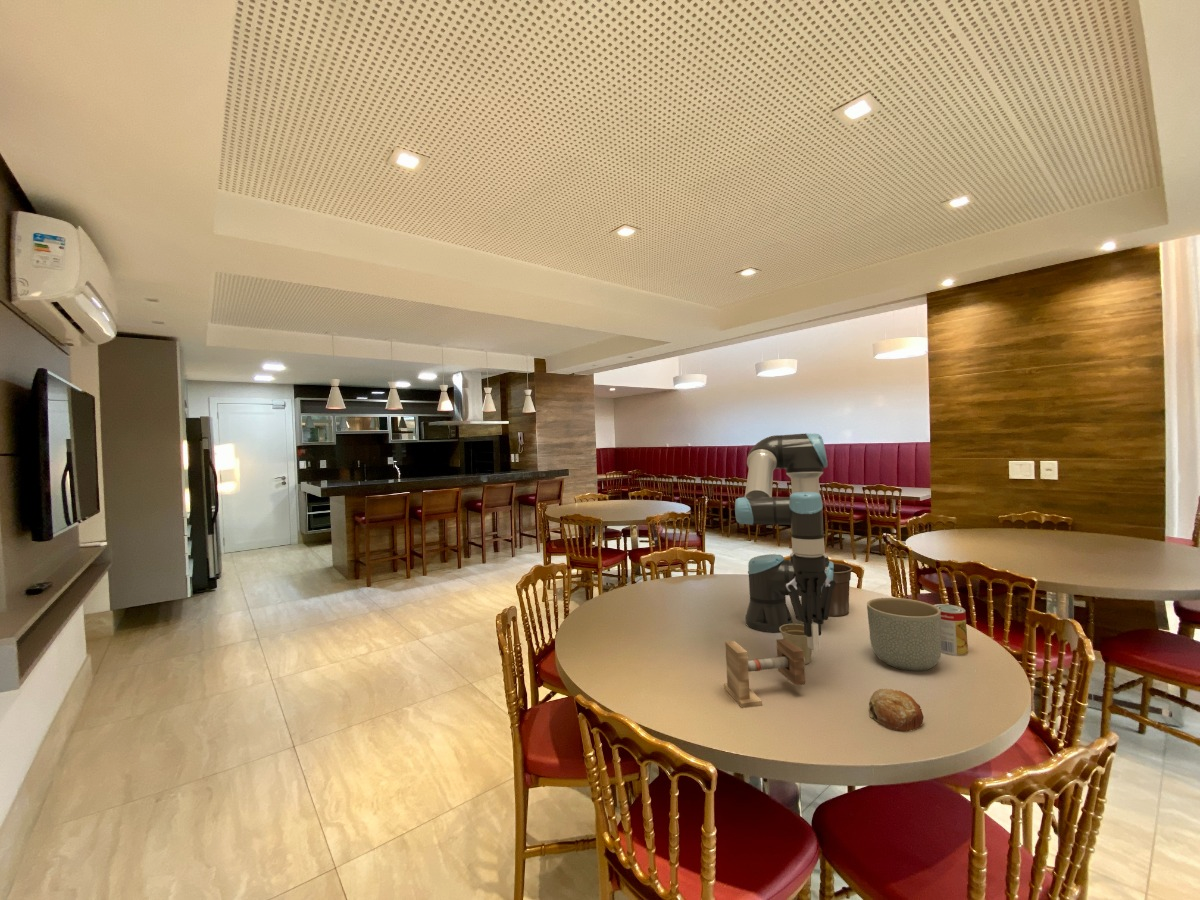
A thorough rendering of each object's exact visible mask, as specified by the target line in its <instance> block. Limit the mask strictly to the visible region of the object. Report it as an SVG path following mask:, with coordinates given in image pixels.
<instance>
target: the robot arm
mask: <svg viewBox="0 0 1200 900" xmlns="http://www.w3.org/2000/svg"><path fill="white" fill-rule="evenodd" d="M827 458H828V457H827V452H826V447H825V443H824V439H823V437H822V436H821V434H819V433H807V432H806V433H797V434H796V433H793V434H784V435H783V434H780V435H779V434H778V435H777V434H776V435H770V436H768V437H764V438H763V439H761V440H760V441H758V442H757V443H756V444H755V445H754V446H752V448H751V449H750V451H749V452H748V454H747V458H746V466H747V469H748V472H747V478H746V479H747V480H746V486H745V491H744V492H745V493H744V496H743V497H738V498H736V499H735V502H734V513H735V520H736V522H737V523H738V524H740V525H741V524H742V525H750V526H753V525H789V526H790V528H791V529H790V530H791V550H792V552H791V553H790V555H789V556H790V559H785V558H784V556H783V555H782V554H776V553H773V554H771V553H769V554H763V555H758V556H754V557H751V558H750V560H748V564H747V565H748V568H747V569H748V571H747V574H748V588H749V592H748V593H749V604H748V608H747V611H746V614H745V625H746V624H747V625H748V626H749V627H748V626H747V625H746V626H747V627H748V628H750V627H751V628H750V629H752V628H753V630H756V631H758V632H759V631H760V632H764V633H765V632H767V633H781V631H780V630H779V628H780V627H781V626H782V625H785V624H793V618H792V615H791V613H790V610H789V607H788V604H787V599H786V596H789V598H790V599H789V600H790V603H791V607H792V610H793V613H794V617H795V619H796V621H797V620H798V621H799V622H801V623H803V625H804V634H805V635H806V636H807V644H808V648H810V649H811V650H812V651H813V652H817V651H820V636H822V625H823V624H824V623H825V622H824V621H828V620H829V617H830V616H829V610H830V604H831V597H832V591H833V589H834V587H835V585H836V582H835V581H833V568H834V564H833V563H834V562H833V561H831V560H829V555H828V554H827V553H826V547H825V536H824V535H825V534H824V516H823V515H824V514H823V513H824V512H823V508H824V505H823V502H822V501H823V499H822V494H821V493H820V477H822V475H823V474H824V469H826V468H828V465H829V464H828V460H827ZM776 469H777V470H783V469H784V470H785V474H786V475H787V476H788V477H789V478H790V480H791V481H790V483H791V494H790V495H789V496H782V497H781V496H777V497H776V496H773V483H774V482H773V481H774V480H773V479H774V470H776ZM820 597H821V598H820Z"/></svg>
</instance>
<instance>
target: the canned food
mask: <svg viewBox="0 0 1200 900" xmlns="http://www.w3.org/2000/svg"><path fill="white" fill-rule="evenodd" d="M933 605H934V606H936V607H937V608H939V609H940V611H941V654H944V655H947V656H956V657H964V656H967V655H968V654H969V648H968V646H969V645H968V632H967V630H968V629H967V613H966V609H965V608H963V607H962V606H959V605H953V604H944V603H937V604H933Z"/></svg>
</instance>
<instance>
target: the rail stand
mask: <svg viewBox="0 0 1200 900" xmlns="http://www.w3.org/2000/svg"><path fill="white" fill-rule="evenodd" d="M724 644H725V662H726V663H725V665H726V680H727V681H726V682H727V683H724V684H723V687H724V689H725V690H726V692H728V693H729V695H730V696H731V697H732V698H733V700H734V701H735V702H736V703H737V704H738V705H739V706H740V708H742V709H743V708H750V707H751V708H752V707H758V706H759V707H760V706H763V700H762V699H761V698H760V697H759V696H757V694H756V693H755V692H754V691H753V690H752V689H751V688H750V677H749V676H750V674H749V673H750V672H760V671H765V670H773V669H774V670H775V669H778V668H784V667H789V658H788V657H787V656H785V657H769V658H761V659H760V658H759V659H758V658H756V659H752V660H748V659H749V657H748V656H749V655H748V651H747V650H746V649H744V647H742V646H741V645H740V644H739V643H737V642H736V640H733V641H726V642H724ZM805 665H806V664H805V658H804V666H805Z"/></svg>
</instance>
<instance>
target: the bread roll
mask: <svg viewBox="0 0 1200 900" xmlns="http://www.w3.org/2000/svg"><path fill="white" fill-rule="evenodd" d="M868 704H869V705H868V707H869V708H868V709H869V710H868V711H869V712H870V713H869V717H870V718H871V719H873V720H874V721H876V722H877V723H879V724H880V725H882V726H884V727H885V728H888V729H890V730H894V731H898V732H899V731H900V732H911V730H912V731H914V730H917V728H918V729H920V728H921V727H922V725H923V723H924V718H925V717H924V714H923V712H922V708H921V706H920V704H918V703H917V702H916V701H915V699H914V698H913V697H912V696H911V695H909V694H908V693H906V692H904V691H901V690H897V689H891V688H879V689H877V690H875V691H874V692H873V693H872V695H871V696H870V699H869V703H868Z"/></svg>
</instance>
